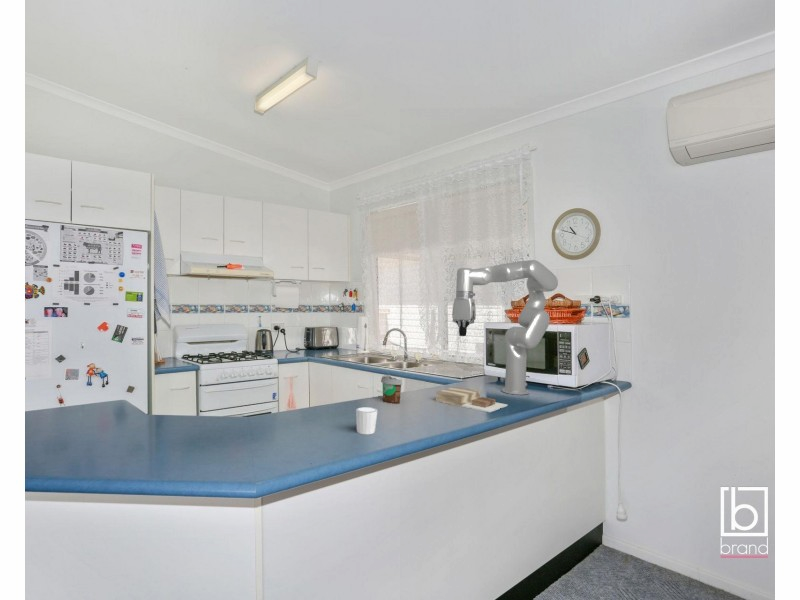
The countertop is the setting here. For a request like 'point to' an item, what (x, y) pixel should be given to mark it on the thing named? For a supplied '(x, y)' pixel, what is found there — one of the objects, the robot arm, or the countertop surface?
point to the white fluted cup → (366, 420)
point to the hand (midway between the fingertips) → (462, 335)
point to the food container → (391, 389)
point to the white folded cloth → (487, 409)
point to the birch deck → (457, 396)
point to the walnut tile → (483, 402)
